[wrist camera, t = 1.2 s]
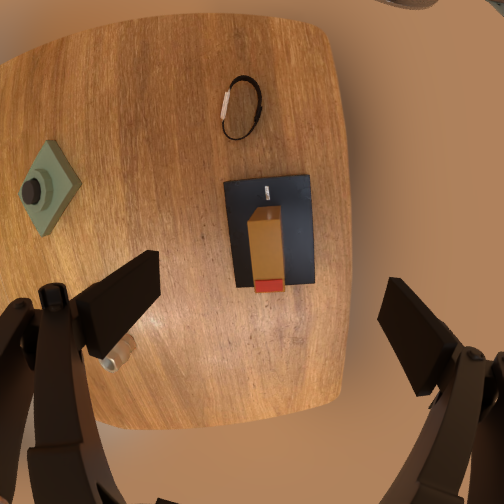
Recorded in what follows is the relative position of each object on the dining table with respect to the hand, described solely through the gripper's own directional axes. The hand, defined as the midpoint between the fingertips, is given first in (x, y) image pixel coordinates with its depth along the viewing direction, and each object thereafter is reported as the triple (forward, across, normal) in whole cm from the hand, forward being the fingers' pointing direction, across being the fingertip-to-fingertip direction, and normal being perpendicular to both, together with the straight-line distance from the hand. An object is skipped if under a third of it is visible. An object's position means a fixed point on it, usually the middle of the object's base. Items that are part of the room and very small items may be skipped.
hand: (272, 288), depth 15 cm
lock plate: (+18, -1, -1) cm, 18 cm away
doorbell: (+18, -36, +3) cm, 40 cm away
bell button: (+14, -36, +3) cm, 39 cm away
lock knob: (+15, -1, -1) cm, 15 cm away
